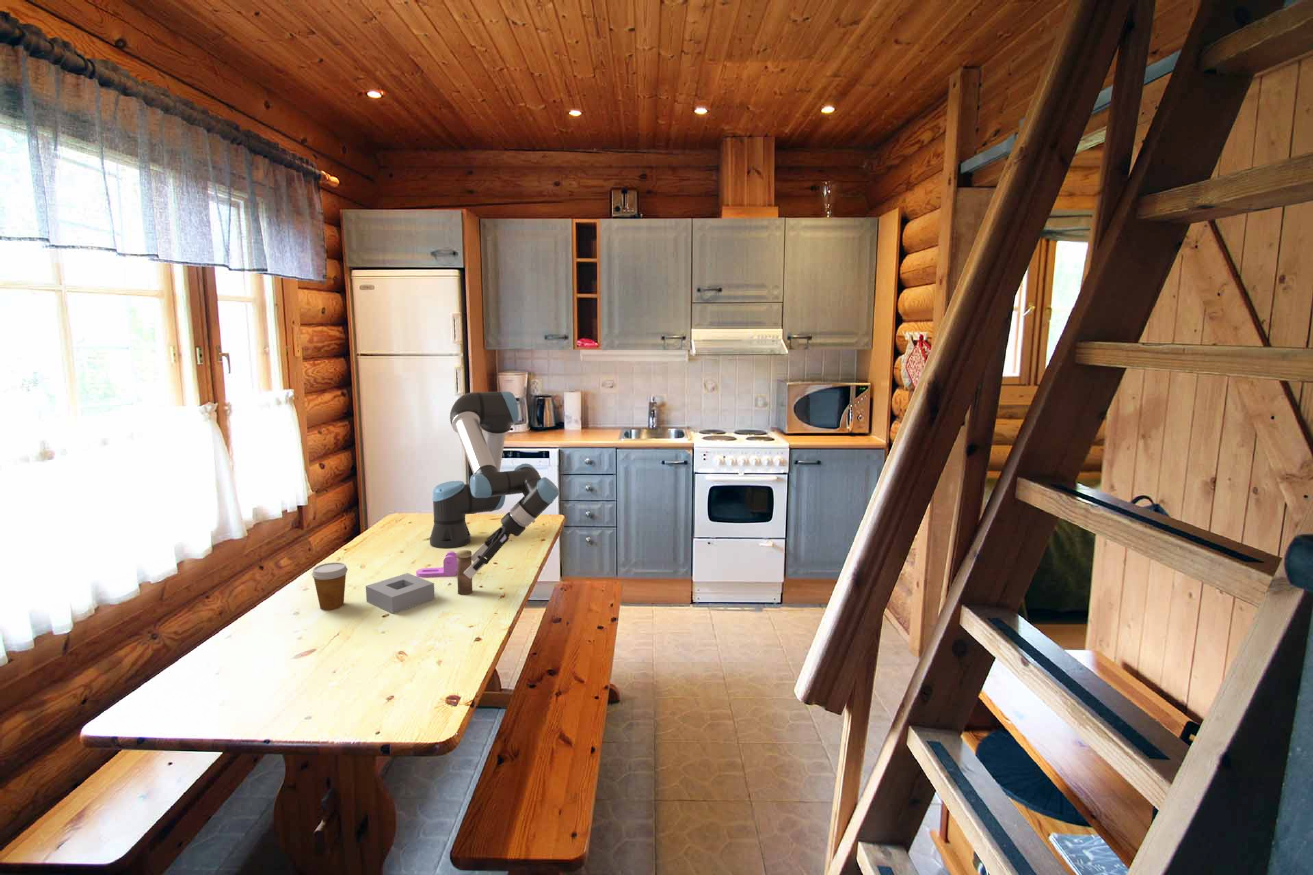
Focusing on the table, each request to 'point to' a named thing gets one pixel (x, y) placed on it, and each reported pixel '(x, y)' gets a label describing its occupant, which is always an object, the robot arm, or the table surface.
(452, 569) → the bracket
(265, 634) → the table surface
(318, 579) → the disposable coffee cup
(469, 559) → the walnut pin
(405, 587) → the socket block
